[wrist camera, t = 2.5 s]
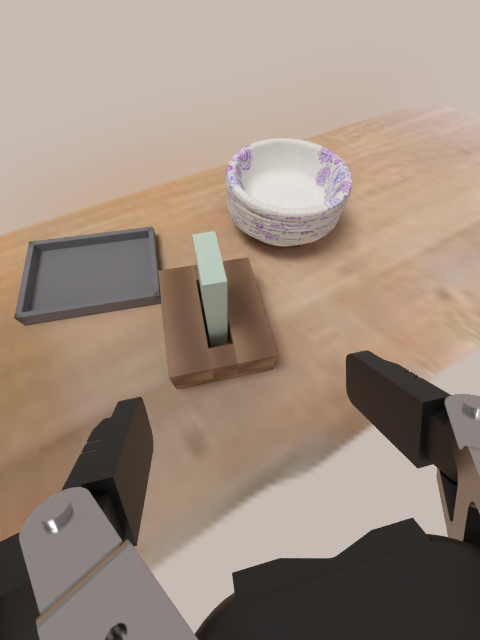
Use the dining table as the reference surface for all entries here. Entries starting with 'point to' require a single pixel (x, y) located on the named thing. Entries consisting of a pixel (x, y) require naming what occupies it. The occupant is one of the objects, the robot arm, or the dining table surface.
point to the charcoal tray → (89, 275)
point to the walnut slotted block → (192, 334)
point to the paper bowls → (286, 190)
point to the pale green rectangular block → (212, 286)
